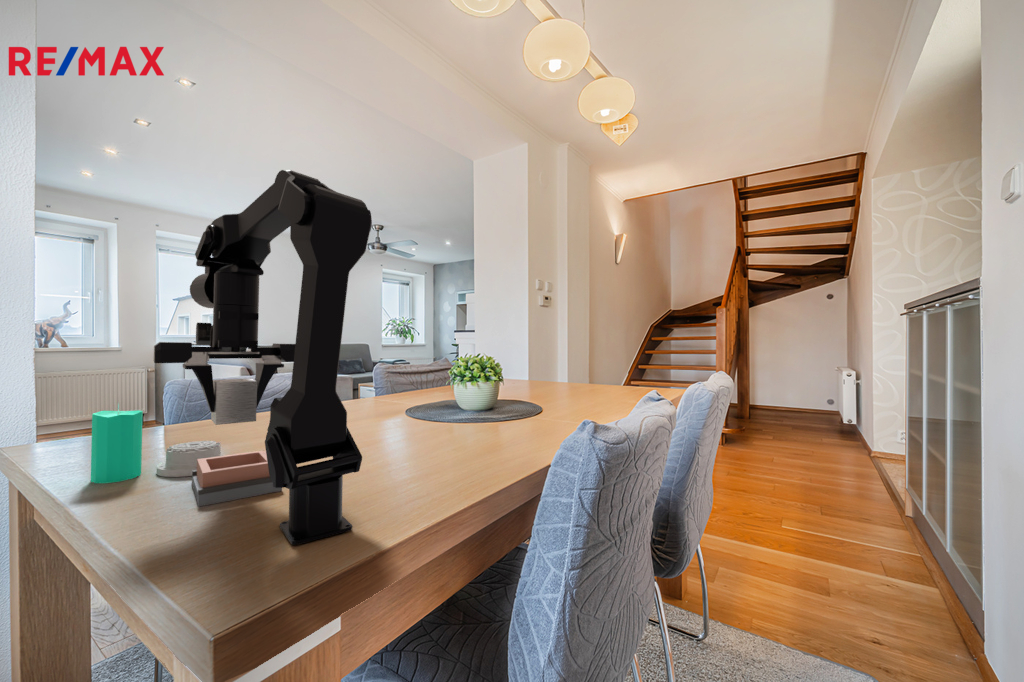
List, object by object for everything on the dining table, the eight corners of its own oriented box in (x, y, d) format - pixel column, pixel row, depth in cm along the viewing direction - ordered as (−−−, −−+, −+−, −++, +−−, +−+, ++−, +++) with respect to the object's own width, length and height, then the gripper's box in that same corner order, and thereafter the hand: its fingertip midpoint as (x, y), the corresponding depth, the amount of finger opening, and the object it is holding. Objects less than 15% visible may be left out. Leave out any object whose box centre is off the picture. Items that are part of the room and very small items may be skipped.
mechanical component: (139, 478, 69) (199, 479, 68) (140, 450, 69) (200, 452, 69) (188, 461, 79) (241, 462, 78) (189, 437, 79) (241, 438, 78)
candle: (79, 482, 66) (81, 404, 66) (121, 470, 72) (123, 399, 72) (111, 484, 65) (113, 405, 65) (151, 473, 71) (152, 401, 71)
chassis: (281, 490, 63) (282, 463, 63) (198, 506, 57) (199, 476, 57) (265, 471, 72) (265, 448, 72) (191, 483, 66) (192, 457, 66)
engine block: (256, 421, 64) (257, 381, 64) (215, 424, 60) (216, 382, 60) (249, 416, 67) (250, 378, 67) (211, 419, 64) (212, 379, 64)
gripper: (290, 312, 76) (288, 399, 76) (154, 304, 64) (151, 408, 64) (308, 309, 68) (306, 407, 68) (156, 300, 55) (153, 419, 55)
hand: (234, 410), depth 64 cm, fingers closed on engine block, 5 cm apart
